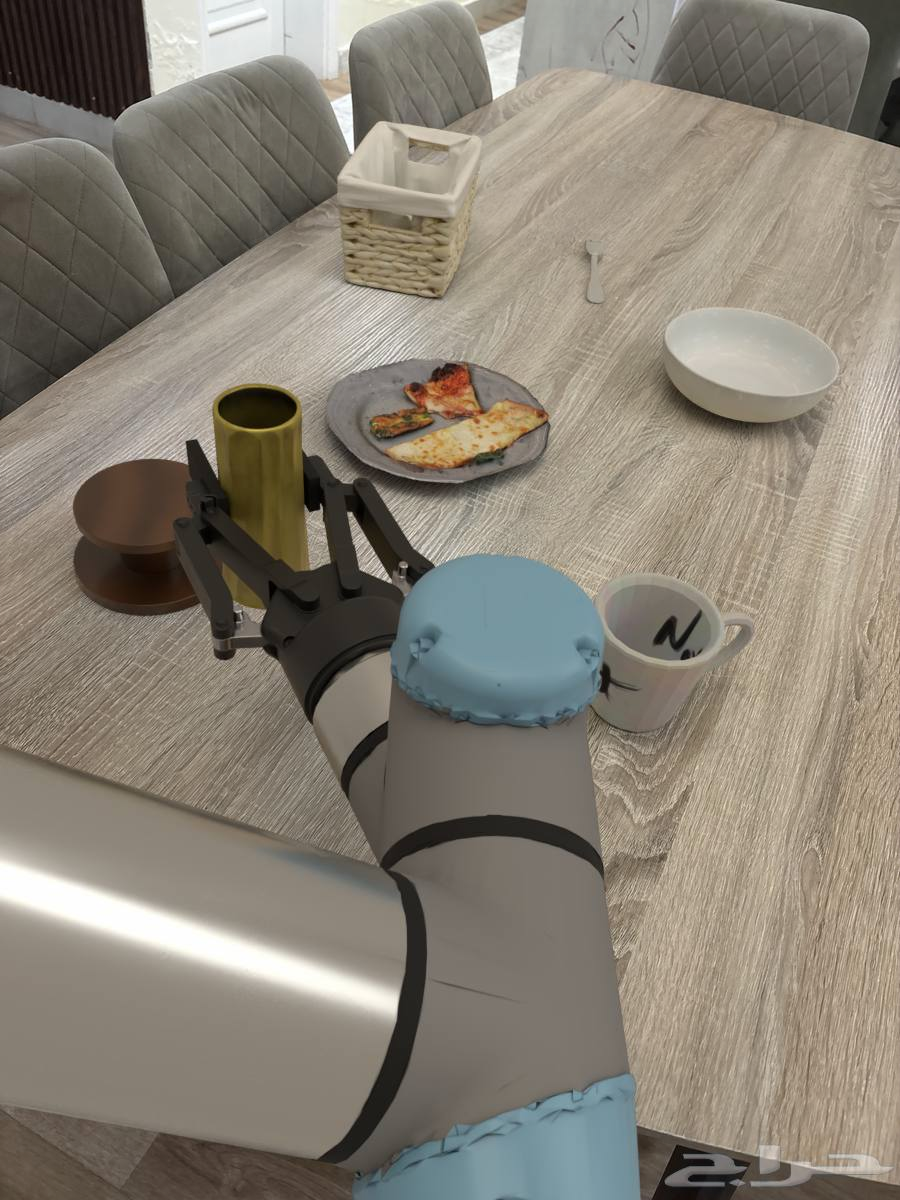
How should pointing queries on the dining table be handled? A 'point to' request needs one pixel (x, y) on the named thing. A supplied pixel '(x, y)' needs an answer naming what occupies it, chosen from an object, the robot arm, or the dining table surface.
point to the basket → (407, 208)
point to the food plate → (437, 420)
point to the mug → (658, 647)
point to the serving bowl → (747, 363)
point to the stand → (134, 537)
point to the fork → (595, 273)
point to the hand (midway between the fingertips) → (237, 448)
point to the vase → (262, 474)
